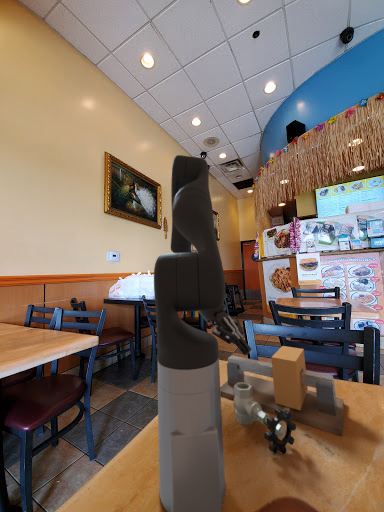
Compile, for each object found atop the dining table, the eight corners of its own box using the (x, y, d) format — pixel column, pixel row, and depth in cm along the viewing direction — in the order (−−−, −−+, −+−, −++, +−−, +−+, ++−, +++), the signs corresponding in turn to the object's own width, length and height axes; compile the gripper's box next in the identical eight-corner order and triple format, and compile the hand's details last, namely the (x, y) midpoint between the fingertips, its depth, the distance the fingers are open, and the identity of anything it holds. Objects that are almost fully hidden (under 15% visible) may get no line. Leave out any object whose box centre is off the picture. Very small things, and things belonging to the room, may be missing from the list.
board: (217, 393, 53) (217, 389, 53) (237, 376, 62) (237, 372, 63) (341, 435, 37) (341, 429, 38) (343, 403, 47) (343, 398, 47)
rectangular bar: (227, 384, 56) (226, 358, 57) (234, 378, 59) (233, 354, 60) (335, 416, 41) (331, 380, 42) (336, 406, 44) (333, 373, 45)
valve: (226, 419, 43) (269, 462, 33) (224, 385, 44) (266, 417, 33) (250, 409, 46) (298, 447, 35) (248, 378, 47) (294, 405, 36)
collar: (275, 402, 46) (271, 357, 47) (285, 384, 53) (282, 345, 55) (300, 410, 43) (295, 361, 44) (307, 390, 50) (303, 349, 52)
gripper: (202, 297, 58) (247, 351, 49) (225, 293, 68) (265, 337, 59) (188, 315, 60) (228, 369, 51) (212, 309, 71) (249, 353, 62)
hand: (248, 352), depth 55 cm, fingers closed
